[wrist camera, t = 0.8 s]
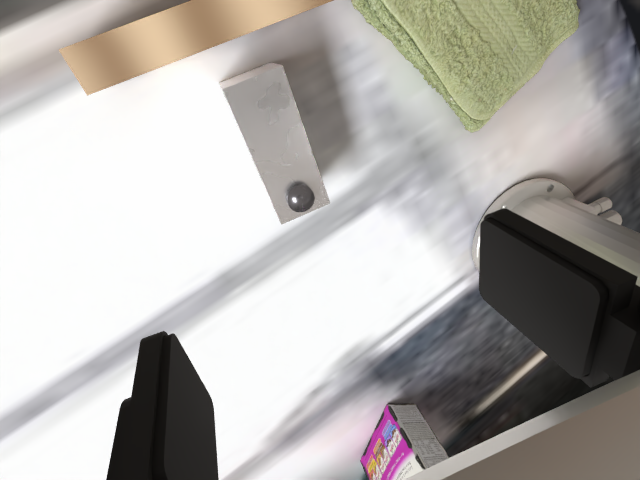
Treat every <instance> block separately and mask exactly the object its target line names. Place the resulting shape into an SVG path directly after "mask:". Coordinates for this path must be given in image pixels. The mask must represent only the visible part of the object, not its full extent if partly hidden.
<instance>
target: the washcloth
mask: <svg viewBox="0 0 640 480" xmlns="http://www.w3.org/2000/svg"><path fill="white" fill-rule="evenodd" d="M351 2H352V4H353V6H354V8H355V9H357V10H358V11H360V13H361V14H362V15H363V16H364V18H365V19H366V22H367V23H369V24H371V25H373V27H374V28H377V30H378V32H381V33H382V35H384V36H385V37H386V38H387V39H389V40H391V41H392V43H393V44H394V46H395V47H396V49H397V50H398V51H399V52H400V53H401V54H402V55H403V56H404V57H405V58H406V60H408V61H410V62H411V63H412V64H413V65H414V67H415V68H417V69H419V71H420V73H421V74H423V75H424V80H427V82H428V85H431V84H432V88H436V92H439V93H440V95H441V94H442V95H443V98H444V100H446V103H447V102H448V104H449V105H450V107H451V109H453V110H454V111H455V114H456V115H457V116H458V117H460V121H461V122H462V123H463V125H464V126H465V129H466V130H468V131H470V132H472V133H473V132H476V131H478V130H479V129H480V128H482V127H483V126H484V125H485V124H486V123H487V122H488V121H489V120H490V118H491V117H492V116H493V115H494V114H495V112H496V111H497V110H498V109H499V108H501V106H503V105H504V104H505V103H506V102H507V101H508V100H509V99H510V98H511V97H512V96H513V95H514V94H515V93H516V92H517V91H518V90H519V89H520V88H521V87H523V86H524V84H525V83H526V82H527V81H529V80H530V79H531V78H532V77H533V76H534V75H535V74H536V73H537V72H538V71H539V70H540V69H541V67H542V65H543V63H544V61H545V60H546V59H547V57H548V56H549V55H550V53H551V52H552V51H553V50H554V49H555V48H556V47H557V46H558V45H559V44H560V43H562V42H563V41H564V40H565V39H567V38H568V37H569V36H571V35H572V34H573V33H574V32H575V31H576V30H577V28H578V26H579V23H578V15H579V12H580V9H578V6H577V5H576V3H577V1H576V0H351Z"/></svg>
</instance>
